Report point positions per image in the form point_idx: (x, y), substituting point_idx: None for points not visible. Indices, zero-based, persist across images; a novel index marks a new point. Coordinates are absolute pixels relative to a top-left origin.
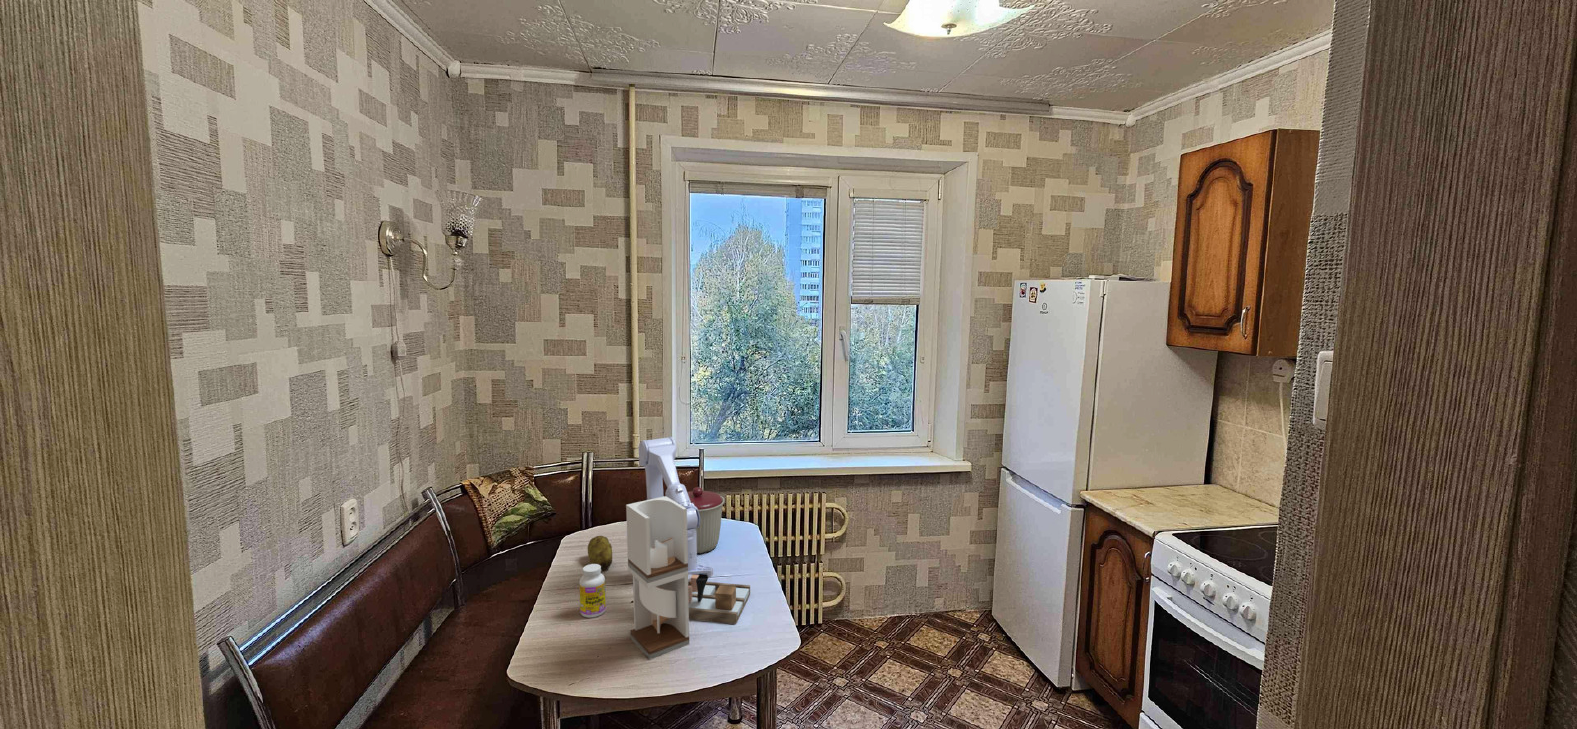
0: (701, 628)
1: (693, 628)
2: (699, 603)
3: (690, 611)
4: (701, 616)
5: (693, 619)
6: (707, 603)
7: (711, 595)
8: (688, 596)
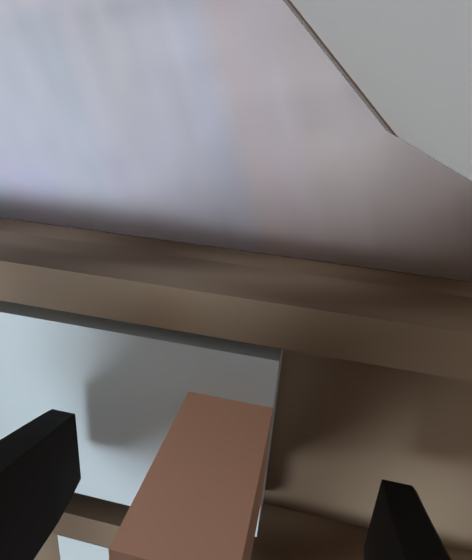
0: (15, 85)
1: (89, 74)
2: (89, 416)
3: (132, 271)
4: (38, 238)
5: (138, 237)
6: (16, 411)
7: None
8: (148, 473)
